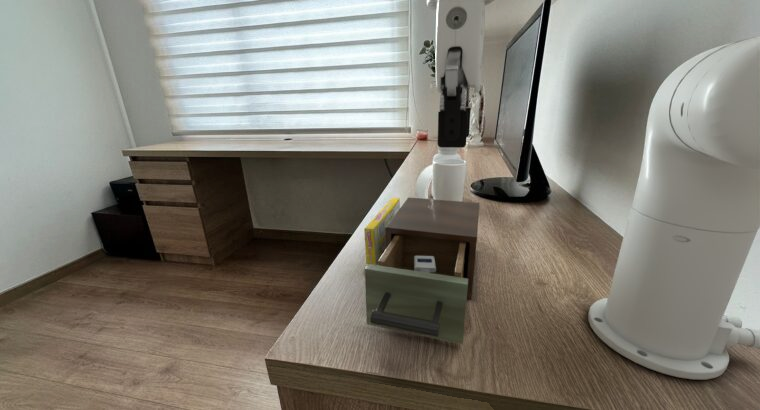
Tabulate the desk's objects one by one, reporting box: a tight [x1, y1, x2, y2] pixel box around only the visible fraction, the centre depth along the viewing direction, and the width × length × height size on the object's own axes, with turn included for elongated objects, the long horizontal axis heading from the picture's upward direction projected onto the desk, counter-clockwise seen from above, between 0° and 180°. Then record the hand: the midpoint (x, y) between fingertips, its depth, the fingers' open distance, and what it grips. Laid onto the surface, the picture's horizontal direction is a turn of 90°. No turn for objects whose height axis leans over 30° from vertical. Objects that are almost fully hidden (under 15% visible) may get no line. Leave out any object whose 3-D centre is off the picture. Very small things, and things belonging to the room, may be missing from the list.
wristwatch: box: [414, 256, 436, 273], centre depth 42 cm, size 6×3×5 cm, turn 175°
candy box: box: [363, 197, 401, 266], centre depth 58 cm, size 16×2×8 cm, turn 162°
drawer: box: [364, 234, 468, 345], centre depth 40 cm, size 18×12×8 cm, turn 162°
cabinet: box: [385, 196, 480, 300], centre depth 52 cm, size 15×13×10 cm
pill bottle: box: [431, 145, 463, 197], centre depth 89 cm, size 8×8×15 cm
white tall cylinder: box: [431, 159, 467, 202], centre depth 67 cm, size 7×7×15 cm
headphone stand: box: [414, 163, 433, 199], centre depth 77 cm, size 5×6×12 cm
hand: (454, 141), depth 41 cm, fingers open, 9 cm apart
